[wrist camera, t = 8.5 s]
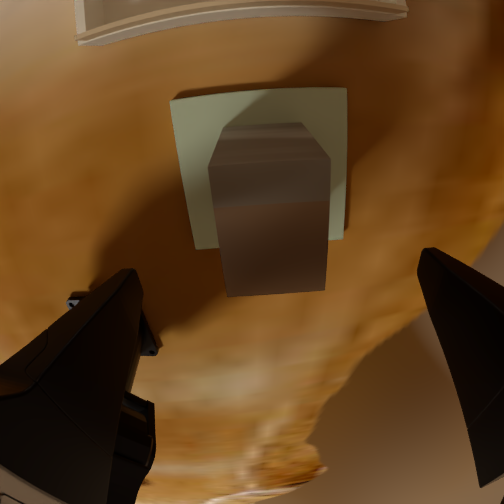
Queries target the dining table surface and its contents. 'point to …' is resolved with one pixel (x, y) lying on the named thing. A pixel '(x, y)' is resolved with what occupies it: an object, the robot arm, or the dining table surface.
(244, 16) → the carton
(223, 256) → the walnut box
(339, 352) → the dining table surface
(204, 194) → the sage mat
